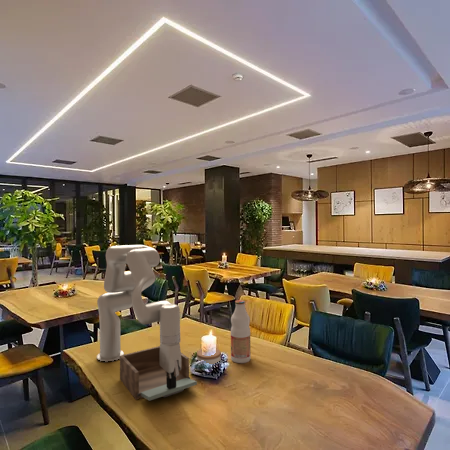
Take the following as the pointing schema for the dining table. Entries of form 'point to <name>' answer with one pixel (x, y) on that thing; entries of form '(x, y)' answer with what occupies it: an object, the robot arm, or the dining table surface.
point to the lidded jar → (209, 357)
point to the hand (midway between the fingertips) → (171, 387)
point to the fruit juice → (240, 334)
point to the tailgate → (165, 391)
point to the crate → (146, 371)
